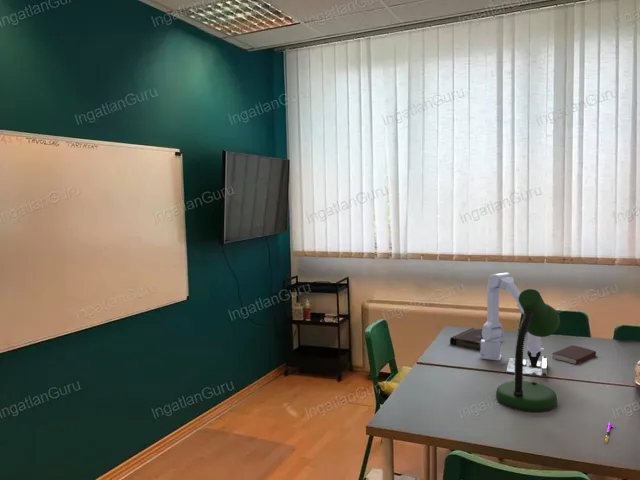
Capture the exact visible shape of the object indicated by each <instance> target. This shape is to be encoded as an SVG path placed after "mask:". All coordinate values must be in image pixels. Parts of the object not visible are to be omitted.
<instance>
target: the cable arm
mask: <svg viewBox="0 0 640 480" xmlns="http://www.w3.org/2000/svg"><path fill="white" fill-rule="evenodd" d="M540 361H541V362H542V372H541V373H546V369H548V368H547V365H548V363H549V357H548V356H546V355H542V356H541V355H540Z"/></svg>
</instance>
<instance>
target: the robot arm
mask: <svg viewBox="0 0 640 480" xmlns="http://www.w3.org/2000/svg"><path fill="white" fill-rule="evenodd" d="M487 281H488V282H487V286H486V306H487V307H486V309H487V310H486V312H487V313H486V316H487V318H486V322H485V323H484V324H483V325H482V329H483V330H482V337H483V339H481V350H479V351H480V352H479V353H480V360H481V359H482V360H490V361H501V359H502V354H501V341H502V338H504V335H505V333H504V328H503V324H502V323H501V322H500V320H499V319H500V316H499V315H500V309H499V307H500V306H499V305H500V302H499V301H500V300H499V297H500V296H499V292H500V290H506V291H507V292H508V293H509V295H511V296H512V297H513V299H514V300H515V301H516V302H517V304H516V306H517V308H518V309H519V311H520V313H522V315H524V310H523V308H522V307H521V305H520V303H519V295H520V294H521V292H520V289H518V287H517V286H516V284H515V283H514V282H515V278H514V277H513V276H512V274H511V273H509V272H507V271H505V272H502V273H492V274H491V275H489V276H488V278H487ZM526 345H527V347H526V350H527V352H526V354H527V355H528V358H529V359H528V360H530V364H531V367H533V368H536V367H537V362H538V361H539V359H540V358H541V355H542V353H541V351H544V347H542V337H537V336H534V335H532V334H530V333H529V332H528V331H527V343H526Z"/></svg>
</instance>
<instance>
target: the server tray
mask: <svg viewBox="0 0 640 480" xmlns="http://www.w3.org/2000/svg"><path fill="white" fill-rule="evenodd" d="M547 369H548V368H547ZM547 369H546V373H541V372H542V362H541V360H538V362H537V367H536V368H533V367H531V364H530V359H524V358H523V376H528V377H539V378H547V376H548V375H547V374H548V370H547ZM514 370H515V357H509V358H508V363H507V367H506V374H513V375H514V374H515V373H514V372H515V371H514Z"/></svg>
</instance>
